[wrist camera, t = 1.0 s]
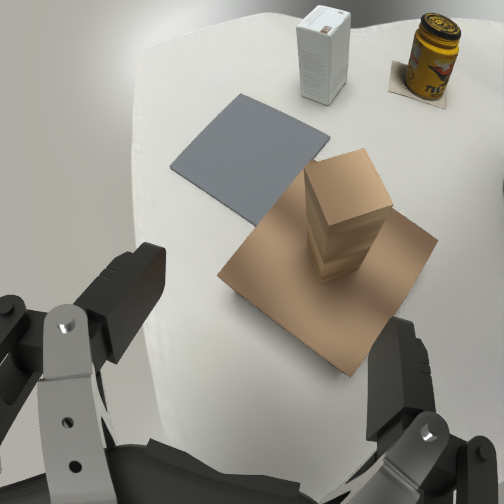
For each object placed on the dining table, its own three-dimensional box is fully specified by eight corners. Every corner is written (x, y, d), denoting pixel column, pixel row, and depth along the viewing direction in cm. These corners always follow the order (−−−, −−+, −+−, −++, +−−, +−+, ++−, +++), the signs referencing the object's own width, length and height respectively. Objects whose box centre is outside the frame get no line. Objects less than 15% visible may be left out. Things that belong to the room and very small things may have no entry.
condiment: (445, 109, 35) (470, 46, 24) (388, 91, 37) (401, 23, 26) (444, 78, 37) (463, 18, 26) (392, 62, 39) (402, -2, 28)
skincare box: (319, 71, 40) (316, 2, 29) (348, 82, 39) (352, 11, 27) (299, 97, 39) (291, 24, 28) (330, 109, 38) (331, 34, 26)
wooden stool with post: (312, 191, 35) (306, 56, 17) (416, 261, 30) (505, 167, 13) (234, 290, 33) (151, 218, 15) (342, 371, 29) (386, 399, 11)
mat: (240, 95, 41) (240, 93, 40) (330, 138, 36) (330, 136, 36) (170, 168, 39) (169, 166, 39) (257, 227, 34) (257, 225, 34)
